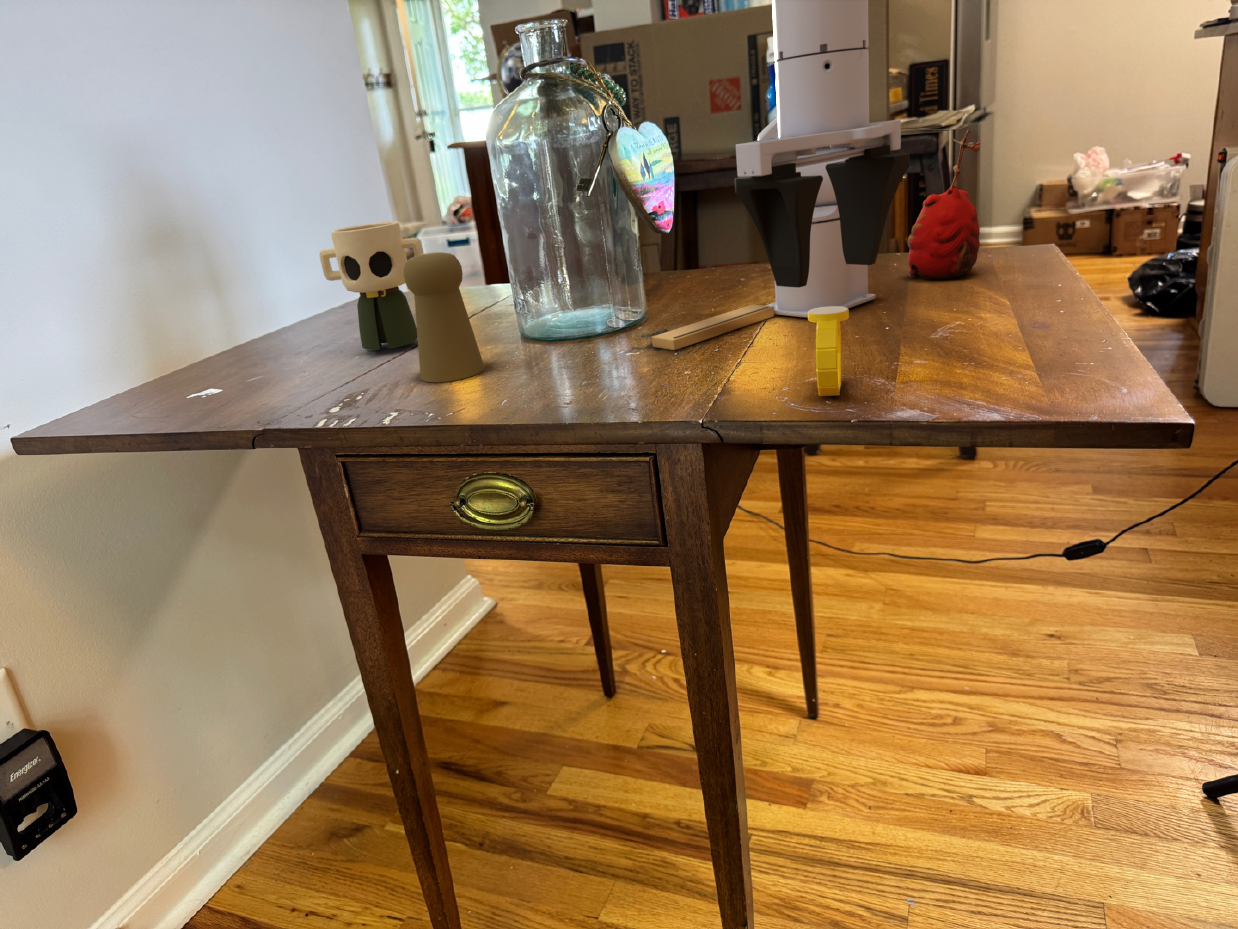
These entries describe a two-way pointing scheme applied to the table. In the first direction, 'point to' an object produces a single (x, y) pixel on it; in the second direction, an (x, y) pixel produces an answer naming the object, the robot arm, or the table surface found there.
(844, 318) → the watch
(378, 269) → the character mug
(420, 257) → the cork
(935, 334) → the table surface
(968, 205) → the red bumpy oval piece
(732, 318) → the ruler
